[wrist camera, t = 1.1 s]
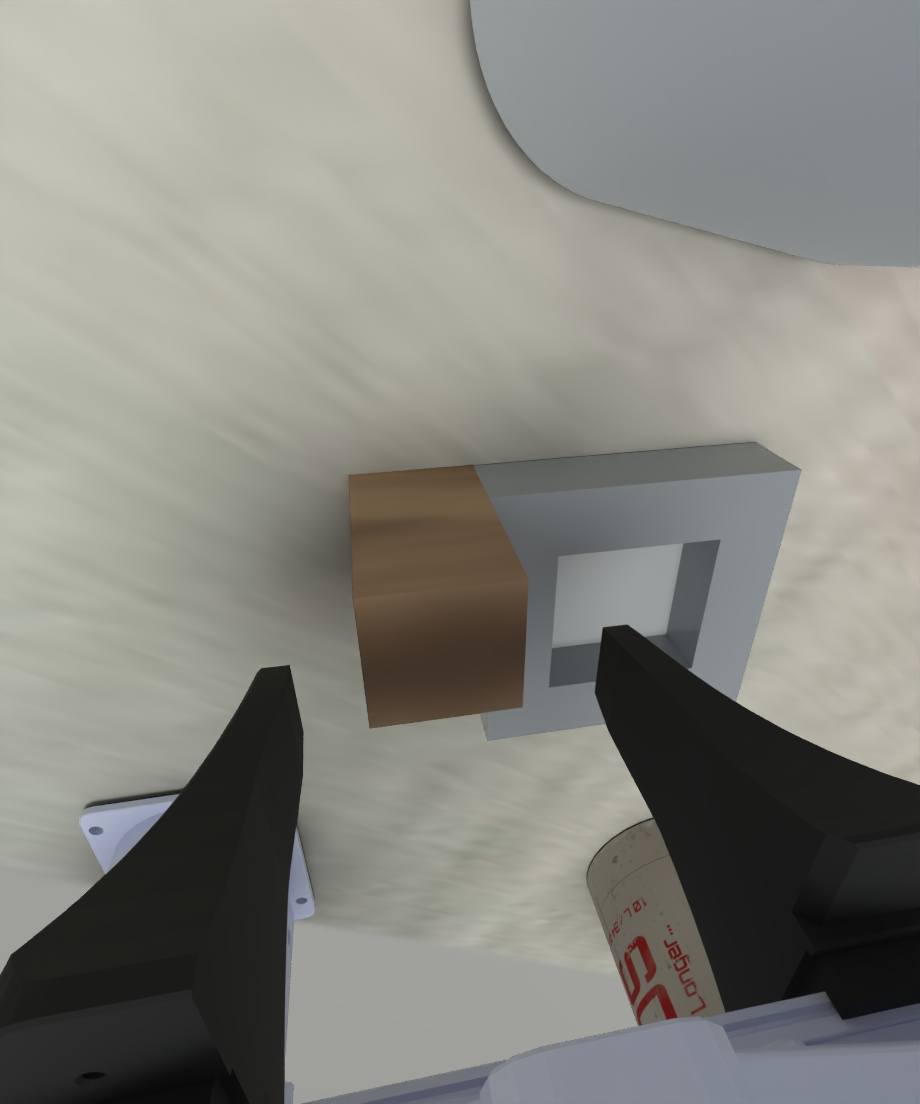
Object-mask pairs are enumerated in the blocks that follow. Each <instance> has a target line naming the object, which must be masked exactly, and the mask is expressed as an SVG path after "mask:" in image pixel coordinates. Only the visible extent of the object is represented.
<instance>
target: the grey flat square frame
mask: <svg viewBox="0 0 920 1104" xmlns="http://www.w3.org/2000/svg"><path fill="white" fill-rule="evenodd" d="M473 467H474V469H475V471H476V473H477V475H478V477H479V479H480V481H481V483H482V485H483V487H484V489H485V491H486V493H487V495H488V497H489V499H490V501H491V503H492V505H493V507H494V510H495V512H496V514H497V516H498V518H499V520H500V522H501V524H502V526H503V528H504V530H505V532H506V534H507V536H508V538H509V540H510V542H511V544H512V546H513V548H514V550H515V552H516V554H517V556H518V558H519V560H520V563H521V565H522V567H523V569H524V571H525V573H526V575H527V577H528V579H529V586H528V608H527V629H526V651H525V673H524V695H523V707H522V708H515V709H508V710H501V711H493V712H486V713H480V715H481V719H482V723H483V726H484V730H485V734H486V737H487V741H489V740H496V739H503V738H510V737H517V736H524V735H531V734H538V733H545V732H552V731H559V730H565V729H572V728H579V727H586V726H593V725H600V724H606V723H605V720H604V718H603V715H602V712H601V710H600V707H599V704H598V701H597V698H596V695H595V684H596V676H597V669H598V661H599V653H600V645H601V637H602V629H603V627H609V626H617V625H626V624H628V625H629V626H630V627H632V628H633V629H635V630H636V631H637V632H639V633H640V634H641V635H643V636H644V637H645V638H647V639H648V640H649V641H650V642H652V643H653V644H654V645H656V646H657V647H658V648H660V649H661V650H662V651H664V652H665V653H666V654H668V655H669V656H670V657H671V658H673V659H674V660H676V661H677V662H678V663H680V664H681V665H682V666H684V667H685V668H686V669H688V670H689V671H691V672H692V673H693V674H695V675H696V676H698V677H699V678H700V679H702V680H703V681H705V682H706V683H708V684H709V685H711V686H712V687H713V688H715V689H716V690H718V691H720V692H721V693H723V694H724V695H726V696H727V697H729V698H730V699H732V700H733V701H735V702H736V700H737V697H738V693H739V689H740V686H741V682H742V679H743V675H744V672H745V668H746V665H747V661H748V658H749V654H750V650H751V647H752V643H753V640H754V636H755V633H756V629H757V626H758V622H759V619H760V615H761V611H762V608H763V604H764V601H765V597H766V594H767V590H768V587H769V583H770V580H771V576H772V572H773V569H774V565H775V562H776V558H777V555H778V551H779V548H780V544H781V541H782V537H783V534H784V530H785V526H786V523H787V519H788V516H789V512H790V509H791V505H792V502H793V498H794V495H795V491H796V487H797V484H798V480H799V477H800V473H801V469H799V468H798V467H796V466H794V465H793V464H791V463H789V462H788V461H786V460H784V459H783V458H781V457H779V456H778V455H776V454H774V453H773V452H771V451H769V450H768V449H766V448H764V447H763V446H761V445H759V444H757V443H756V442H753V443H741V444H729V445H716V446H704V447H692V448H680V449H668V450H656V451H644V452H632V453H619V454H607V455H595V456H583V457H571V458H559V459H547V460H534V461H522V462H510V463H498V464H486V465H474V466H473Z"/></svg>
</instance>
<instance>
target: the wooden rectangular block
mask: <svg viewBox="0 0 920 1104" xmlns="http://www.w3.org/2000/svg"><path fill="white" fill-rule="evenodd" d="M349 494H350V525H351V555H352V585H353V603H354V611H355V619H356V626H357V634H358V642H359V650H360V657H361V665H362V673H363V681H364V689H365V696H366V704H367V712H368V720H369V727H370V728H377V727H384V726H392V725H399V724H406V723H413V722H421V721H428V720H435V719H442V718H450V717H457V716H464V715H472V714H479V713H486V712H493V711H501V710H508V709H515V708H522V707H523V695H524V673H525V651H526V629H527V608H528V586H529V579H528V577H527V575H526V573H525V571H524V569H523V567H522V565H521V563H520V560H519V558H518V556H517V554H516V552H515V550H514V548H513V546H512V544H511V542H510V540H509V538H508V536H507V534H506V532H505V530H504V528H503V526H502V524H501V522H500V520H499V518H498V516H497V514H496V512H495V510H494V507H493V505H492V503H491V501H490V499H489V497H488V495H487V493H486V491H485V489H484V487H483V485H482V483H481V481H480V479H479V477H478V475H477V473H476V471H475V469H474V467H473V465H466V466H454V467H441V468H429V469H417V470H405V471H393V472H381V473H369V474H356V475H349Z"/></svg>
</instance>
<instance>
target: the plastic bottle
mask: <svg viewBox="0 0 920 1104" xmlns="http://www.w3.org/2000/svg"><path fill="white" fill-rule="evenodd" d="M470 8H471V19H472V26H473V32H474V39H475V45H476V49H477V54H478V58H479V62H480V66H481V70H482V73H483V76H484V79H485V82H486V85H487V88H488V91H489V93H490V96H491V98H492V100H493V103H494V105H495V107H496V109H497V111H498V113H499V115H500V117H501V119H502V121H503V123H504V124H505V126H506V128H507V129H508V131H509V132H510V134H511V135H512V137H513V138H514V140H515V141H516V143H517V144H518V145H519V146H520V148H521V149H522V150H523V151H524V153H525V154H526V155H527V156H528V158H529V159H530V160H531V161H532V162H533V163H534V164H535V165H536V166H537V167H538V168H539V169H540V170H542V171H543V172H544V173H545V174H547V175H548V176H549V177H550V178H551V179H553V180H554V181H555V182H557V183H559V184H560V185H562V186H563V187H565V188H566V189H568V190H570V191H572V192H574V193H576V194H578V195H581V196H583V197H586V198H589V199H592V200H595V201H598V202H602V203H605V204H609V205H613V206H616V207H620V208H624V209H627V210H631V211H634V212H638V213H642V214H645V215H649V216H653V217H656V218H660V219H664V220H667V221H671V222H674V223H678V224H682V225H685V226H689V227H693V228H696V229H700V230H704V231H707V232H711V233H714V234H718V235H722V236H725V237H729V238H733V239H736V240H740V241H744V242H747V243H751V244H754V245H758V246H762V247H765V248H769V249H773V250H776V251H780V252H784V253H787V254H791V255H794V256H798V257H802V258H805V259H809V260H813V261H818V262H822V263H827V264H839V265H866V266H898V267H920V0H470Z"/></svg>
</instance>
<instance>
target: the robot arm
mask: <svg viewBox="0 0 920 1104" xmlns="http://www.w3.org/2000/svg"><path fill="white" fill-rule="evenodd" d="M595 695H596V698H597V701H598V704H599V707H600V710H601V712H602V715H603V718H604V720H605V723H606V726H607V728H608V731H609V733H610V735H611V737H612V739H613V741H614V743H615V745H616V747H617V749H618V750H619V752H620V754H621V756H622V758H623V760H624V762H625V764H626V766H627V768H628V770H629V772H630V773H631V775H632V777H633V779H634V781H635V783H636V785H637V787H638V789H639V791H640V792H641V794H642V796H643V798H644V800H645V802H646V804H647V806H648V808H649V810H650V811H651V813H652V815H653V818H654V820H655V822H656V824H657V826H658V828H659V830H660V833H661V835H662V837H663V840H664V842H665V845H666V847H667V850H668V852H669V855H670V857H671V860H672V862H673V865H674V867H675V870H676V872H677V875H678V877H679V880H680V883H681V885H682V888H683V891H684V893H685V896H686V899H687V901H688V904H689V907H690V909H691V912H692V915H693V917H694V920H695V923H696V926H697V929H698V932H699V935H700V937H701V940H702V943H703V946H704V949H705V952H706V955H707V957H708V960H709V963H710V966H711V969H712V972H713V975H714V978H715V982H716V985H717V988H718V991H719V994H720V997H721V1000H722V1003H723V1006H724V1009H725V1013H722V1014H718V1015H713V1016H708V1017H704V1018H702V1017H699V1016H698V1017H685V1018H674V1019H669V1020H664V1021H660V1022H655V1023H650V1024H646V1025H641V1026H636V1027H631V1028H627V1029H622V1030H617V1031H613V1032H608V1033H603V1034H599V1035H594V1036H589V1037H585V1038H580V1039H575V1040H571V1041H566V1042H561V1043H556V1044H552V1045H547V1046H543V1047H539V1048H536V1049H533V1050H530V1051H527V1052H524V1053H522V1054H518V1055H515V1056H513V1057H511V1058H510V1059H508V1060H503V1061H499V1062H494V1063H490V1064H485V1065H480V1066H476V1067H471V1068H466V1069H461V1070H457V1071H452V1072H448V1073H443V1074H438V1075H434V1076H429V1077H424V1078H420V1079H415V1080H410V1081H405V1082H401V1083H396V1084H392V1085H387V1086H382V1087H377V1088H373V1089H368V1090H364V1091H359V1092H354V1093H350V1094H345V1095H340V1096H335V1097H331V1098H326V1099H321V1100H317V1101H312V1102H307V1103H303V1104H920V785H918V784H915V783H912V782H909V781H906V780H903V779H900V778H897V777H894V776H890V775H888V774H885V773H882V772H880V771H877V770H874V769H872V768H869V767H867V766H864V765H862V764H859V763H857V762H854V761H851V760H849V759H847V758H844V757H842V756H840V755H837V754H835V753H833V752H830V751H828V750H826V749H824V748H821V747H819V746H817V745H815V744H813V743H811V742H809V741H807V740H804V739H802V738H800V737H798V736H796V735H794V734H792V733H790V732H788V731H786V730H784V729H782V728H780V727H778V726H777V725H775V724H773V723H771V722H769V721H768V720H766V719H764V718H762V717H760V716H759V715H757V714H755V713H753V712H751V711H750V710H748V709H746V708H745V707H743V706H741V705H740V704H738V703H737V702H735V701H733V700H732V699H730V698H729V697H727V696H726V695H724V694H723V693H721V692H720V691H718V690H716V689H715V688H713V687H712V686H711V685H709V684H708V683H706V682H705V681H703V680H702V679H700V678H699V677H698V676H696V675H695V674H693V673H692V672H691V671H689V670H688V669H686V668H685V667H684V666H682V665H681V664H680V663H678V662H677V661H676V660H674V659H673V658H671V657H670V656H669V655H668V654H666V653H665V652H664V651H662V650H661V649H660V648H658V647H657V646H656V645H654V644H653V643H652V642H650V641H649V640H648V639H647V638H645V637H644V636H643V635H641V634H640V633H639V632H637V631H636V630H635V629H633V628H632V627H630V626H629V625H628V624H626V625H617V626H609V627H603V629H602V637H601V645H600V653H599V661H598V669H597V676H596V684H595ZM302 778H303V728H302V723H301V718H300V713H299V708H298V703H297V698H296V694H295V689H294V684H293V679H292V674H291V669H290V665H286V666H278V667H269V668H261V669H260V670H259V671H258V672H257V674H256V676H255V678H254V680H253V682H252V684H251V686H250V687H249V689H248V691H247V693H246V695H245V697H244V698H243V700H242V702H241V704H240V706H239V707H238V709H237V711H236V712H235V714H234V716H233V718H232V719H231V721H230V722H229V724H228V725H227V727H226V729H225V730H224V732H223V733H222V735H221V737H220V738H219V740H218V741H217V743H216V744H215V746H214V747H213V749H212V750H211V752H210V753H209V755H208V756H207V757H206V759H205V760H204V762H203V763H202V765H201V766H200V767H199V769H198V770H197V772H196V773H195V774H194V776H193V777H192V779H191V780H190V781H189V783H188V784H187V785H186V786H185V788H184V789H183V790H182V792H181V793H180V794H176V795H169V796H162V797H155V798H148V799H142V800H135V801H128V802H121V803H114V804H107V805H101V806H94V807H89V808H86V809H85V810H83V811H82V813H81V815H80V818H79V820H78V822H79V825H80V827H81V829H82V831H83V833H84V835H85V837H86V838H87V840H88V842H89V844H90V846H91V848H92V850H93V852H94V854H95V856H96V858H97V860H98V862H99V864H100V866H101V867H102V869H103V871H104V873H105V875H104V876H103V877H102V878H101V879H100V880H99V881H98V882H97V883H96V884H95V885H94V886H93V887H92V888H91V889H89V890H88V891H87V892H86V893H85V894H84V895H83V896H82V897H81V898H80V899H79V900H78V901H77V902H75V903H74V904H73V905H72V906H71V907H69V908H68V909H67V910H66V911H65V912H64V913H62V914H61V915H60V916H59V917H57V918H56V919H55V920H54V921H52V922H51V923H50V924H49V925H48V926H46V927H45V928H44V929H43V930H42V931H40V932H39V933H38V934H37V935H35V936H34V937H33V938H32V939H30V940H29V941H28V942H27V943H25V944H24V945H23V946H22V947H20V948H19V949H18V950H17V951H15V952H14V953H13V954H11V956H10V958H9V960H8V962H7V964H6V966H5V967H4V969H3V971H2V973H1V974H0V1104H293V1090H294V1085H293V1084H292V1083H291V1082H285V1077H284V1076H285V1072H284V1071H285V1069H284V1066H285V1063H284V1062H285V1061H284V1060H285V1052H286V1039H287V1023H288V1006H289V991H290V974H291V958H292V941H293V926H294V920H299V919H305V918H308V917H311V916H312V915H313V914H314V913H315V900H314V896H313V892H312V888H311V884H310V879H309V875H308V871H307V867H306V863H305V858H304V854H303V850H302V846H301V842H300V838H299V833H298V829H297V817H298V810H299V802H300V794H301V786H302Z"/></svg>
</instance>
